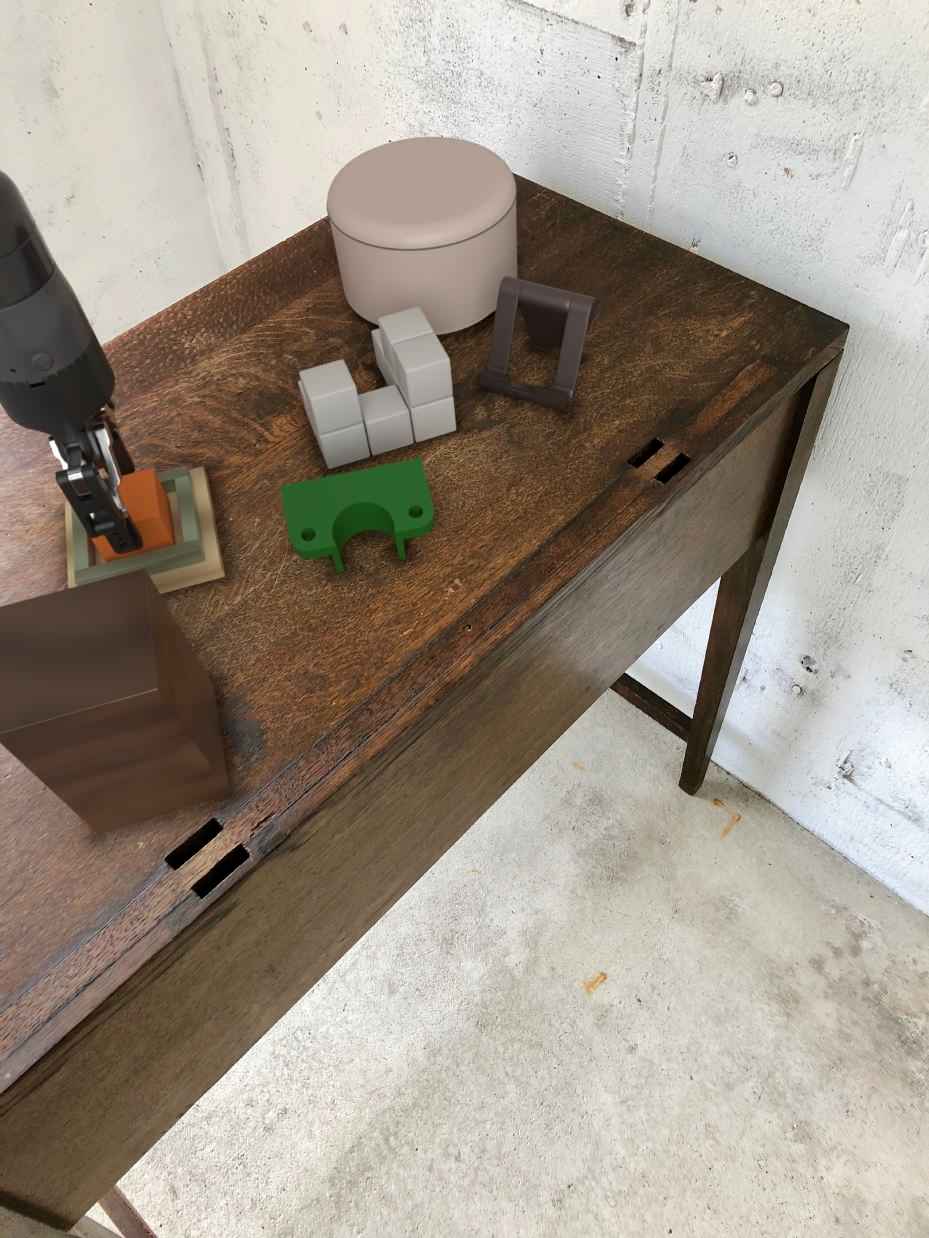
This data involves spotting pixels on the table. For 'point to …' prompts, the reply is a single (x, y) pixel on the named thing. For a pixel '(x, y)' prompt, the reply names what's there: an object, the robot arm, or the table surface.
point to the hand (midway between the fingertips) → (126, 509)
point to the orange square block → (143, 514)
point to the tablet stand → (539, 338)
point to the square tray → (166, 566)
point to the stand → (109, 702)
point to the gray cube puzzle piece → (383, 394)
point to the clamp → (358, 508)
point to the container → (425, 230)
